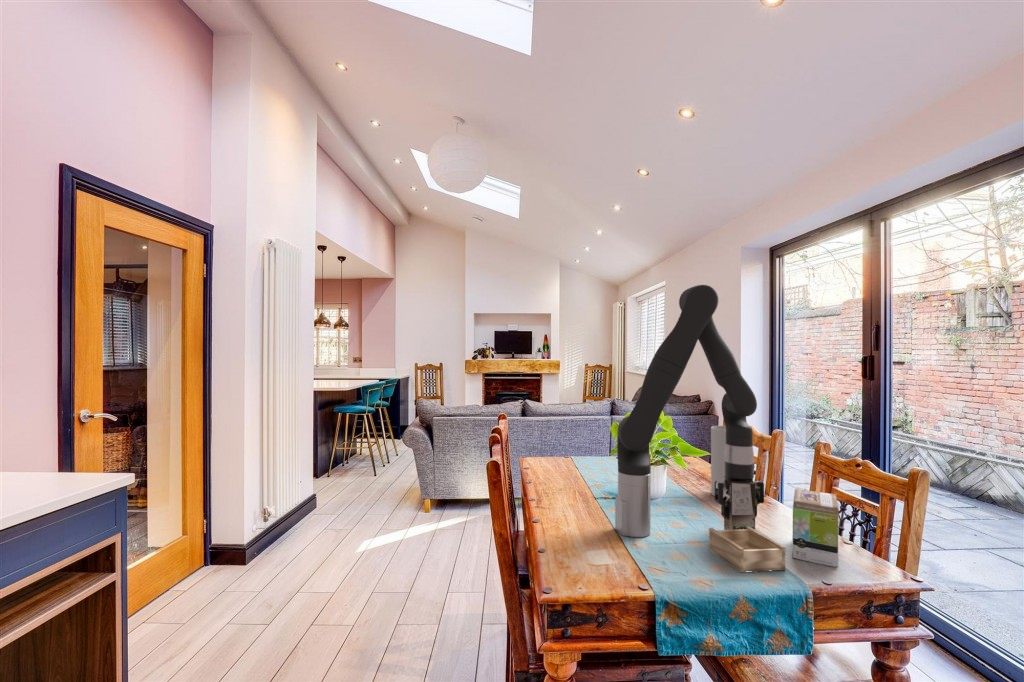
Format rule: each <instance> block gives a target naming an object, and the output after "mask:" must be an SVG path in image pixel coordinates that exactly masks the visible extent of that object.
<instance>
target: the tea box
mask: <svg viewBox="0 0 1024 682" xmlns="http://www.w3.org/2000/svg"><path fill="white" fill-rule="evenodd" d="M793 494H794V496H793V504H792V540H791V541H792V558H793V559H796V560H800V561H803V562H804V561H806V562H808V563H809V562H810V563H815V564H820V565H823V566H829V567H833V568H837V567H838V566H839V523H840V522H839V518H840V517H839V516H840V515H839V514H840V513H839V512H840V511H839V505H838V504H839V503H838V497H837V494H835V493H834V494H833V493H827V492H819V491H814V490H806V489H800V488H795V489H794V493H793Z"/></svg>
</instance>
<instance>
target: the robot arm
mask: <svg viewBox="0 0 1024 682" xmlns="http://www.w3.org/2000/svg"><path fill="white" fill-rule="evenodd" d="M678 299H679V300H678V304H679V308H680V311H681V313H680V315H679V317H678V319H677V321H676V324H675V325H674V327H673V328H672V330H671V331H670V332H669V334H668V335H667V336H666V338H665V339H664V340H663V342H661V344H660V346H659V347H658V348H657V350H656V352H655V354H654V355H653V357H652V359H651V361H650V364H649V365H648V368H647V370H646V373H645V376H644V379H643V383H642V386H641V390H640V394H639V396H638V399H637V402H636V403H635V405H634V407H633V408H632V410H631V412H630V414H629V415H628V416H625V417H624V418H622V419H621V421H620V422H619V424H618V426H617V434H616V435H617V437H616V439H617V441H616V443H617V444H616V445H617V447H616V448H617V457H616V458H617V495H616V496H615V498H614V499H615V501H614V502H615V506H614V507H615V508H614V509H615V510H614V513H615V514H614V516H615V517H614V518H615V519H614V529H615V530H616V531H617V532H618V533H619V534H621V536H623V537H624V536H628V537H632V538H644V537H647V536H650V534H651V479H652V478H651V475H652V473H651V472H652V471H651V467H652V466H651V457H650V444H651V442H652V439H653V436H654V434H655V430H656V428H657V425H658V423H659V420H660V418H661V414H662V412H663V410H664V408H665V406H667V403H668V402H669V401H670V398H671V397H672V395H673V393H674V391H675V389H676V387H677V386H678V384H679V382H680V380H681V377H683V374H684V372H685V370H686V368H687V365H688V363H689V360H690V358H691V356H692V354H693V352H694V350H695V348H696V345H697V343H698V341H699V344H700V345H701V348H702V351H703V353H704V355H705V357H706V360H707V362H708V364H709V367H710V370H711V372H712V374H713V377H714V379H715V381H716V383H717V385H718V386H720V387H722V388H723V390H724V391H725V393H724V394H723V397H722V399H721V412H722V417H723V423H724V426H725V427H726V447H725V477H726V479H725V482H718V481H715V497H714V502H715V503H717V504H719V505H720V506H721V509H720V510H721V511H720V513H721V514H720V515H721V516H722V518H723V519H724V518H725V519H726V520H728V519H729V504H730V497H729V495H728V494H727V490H728V489H729V482H730V481H740V480H750V481H752V482H753V483H754V484H755V519H756V518H757V516H758V506H759V504H764V503H765V484H764V482H762V481H760V480H758V479H755V480H754V478H755V474H754V473H755V467H754V466H755V463H754V461H755V458H754V457H755V453H754V452H755V451H754V447H753V445H754V443H753V442H754V440H753V439H754V438H753V437H754V435H753V434H754V433H753V428H752V427H751V425H750V424H749V423H748V422H747V417H750V416H752V415H753V414H755V412H756V410H757V408H758V403H757V398H756V395H755V393H754V392H753V390H752V388H751V387H750V385H749V383H748V382H747V381H746V379H745V378H744V377H743V375H742V373H741V370H740V367H739V365H738V363H737V360H736V358H735V355H734V353H733V351H732V350H731V348H730V347H729V345H728V343H727V342H726V341H725V338H724V337H723V336H722V335H721V333H720V332H719V330H718V328H717V326H716V323H715V321H714V319H713V315H714V314H715V312H716V310H717V308H718V304H719V295H718V292H717V291H716V289H715V288H714V287H712V286H711V285H708V284H698V285H694V286H691V287H689V288H687V289H685V290H684V291H683V292H682V293H681V295H680V296H679V298H678ZM724 487H726V488H727V489H726V491H725V492H724V494H723V490H724V489H725V488H724ZM723 495H724V496H723Z"/></svg>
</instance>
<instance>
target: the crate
mask: <svg viewBox="0 0 1024 682" xmlns="http://www.w3.org/2000/svg"><path fill="white" fill-rule="evenodd" d="M708 532H709V533H708V535H709V537H708V538H709V539H708V542H709V543H708V544H709V545H708V546H709V548H708V550H710V552H712V553H713V554H714V553H715V556H717V557H718V556H719V558H720V560H722V559H723V562H725V563H726V562H727V563H726V564H727V565H729V564H730V565H731V566H730V565H729V566H730V567H732V568H733V567H734V568H735V569H734V568H733V569H734V570H736V571H737V570H738V571H739V573H740V572H745V573H747V572H746V571H767V572H770V571H769V570H785V571H786V548H787V547H786V546H785V545H783V544H781V543H779V542H777V541H775V540H774V539H772V538H771V537H769V536H767V535H765V534H764V533H762V532H760V531H759V530H757V529H756V528H755V529H753V528H751V527H746V529H738V530H724V529H714V528H713V527H709V528H708ZM738 571H737V572H738Z"/></svg>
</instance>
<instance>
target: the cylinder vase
mask: <svg viewBox="0 0 1024 682" xmlns="http://www.w3.org/2000/svg"><path fill="white" fill-rule="evenodd" d="M725 447H726V427H725V425H712V426H710V494H711V495H712V496H713V497H714V496H715V481H718V482H724V476H725ZM723 494H724V490H723ZM723 496H724V495H723Z"/></svg>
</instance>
